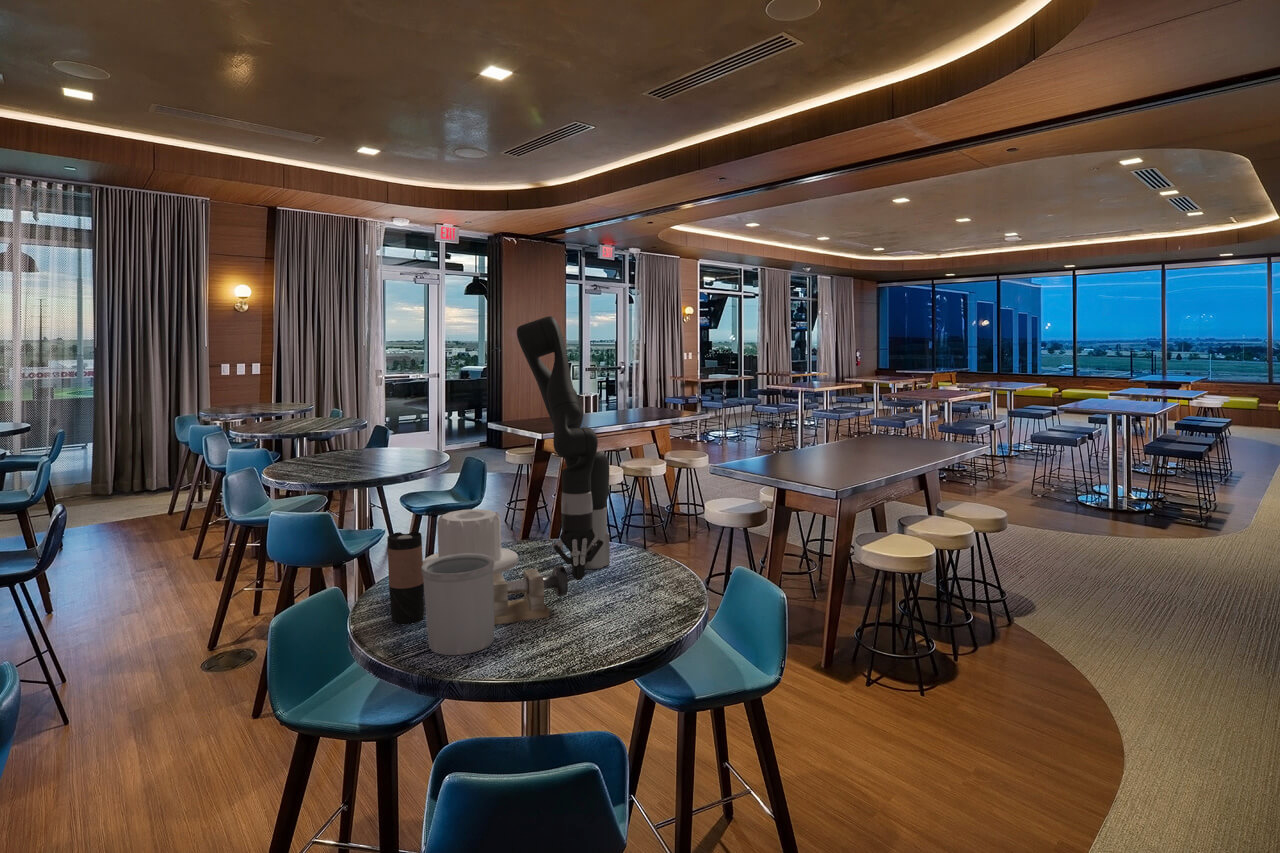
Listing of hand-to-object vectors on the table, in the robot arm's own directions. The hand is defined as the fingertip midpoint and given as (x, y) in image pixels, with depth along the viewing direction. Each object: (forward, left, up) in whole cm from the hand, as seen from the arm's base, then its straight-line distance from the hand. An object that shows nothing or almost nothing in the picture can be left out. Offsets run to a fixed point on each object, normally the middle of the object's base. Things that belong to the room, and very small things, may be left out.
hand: (578, 579), depth 168 cm
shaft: (+13, 0, -3) cm, 13 cm away
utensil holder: (+30, +12, -7) cm, 33 cm away
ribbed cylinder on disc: (+23, -26, -7) cm, 35 cm away
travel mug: (+40, -6, -7) cm, 41 cm away
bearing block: (+16, 0, -6) cm, 17 cm away
